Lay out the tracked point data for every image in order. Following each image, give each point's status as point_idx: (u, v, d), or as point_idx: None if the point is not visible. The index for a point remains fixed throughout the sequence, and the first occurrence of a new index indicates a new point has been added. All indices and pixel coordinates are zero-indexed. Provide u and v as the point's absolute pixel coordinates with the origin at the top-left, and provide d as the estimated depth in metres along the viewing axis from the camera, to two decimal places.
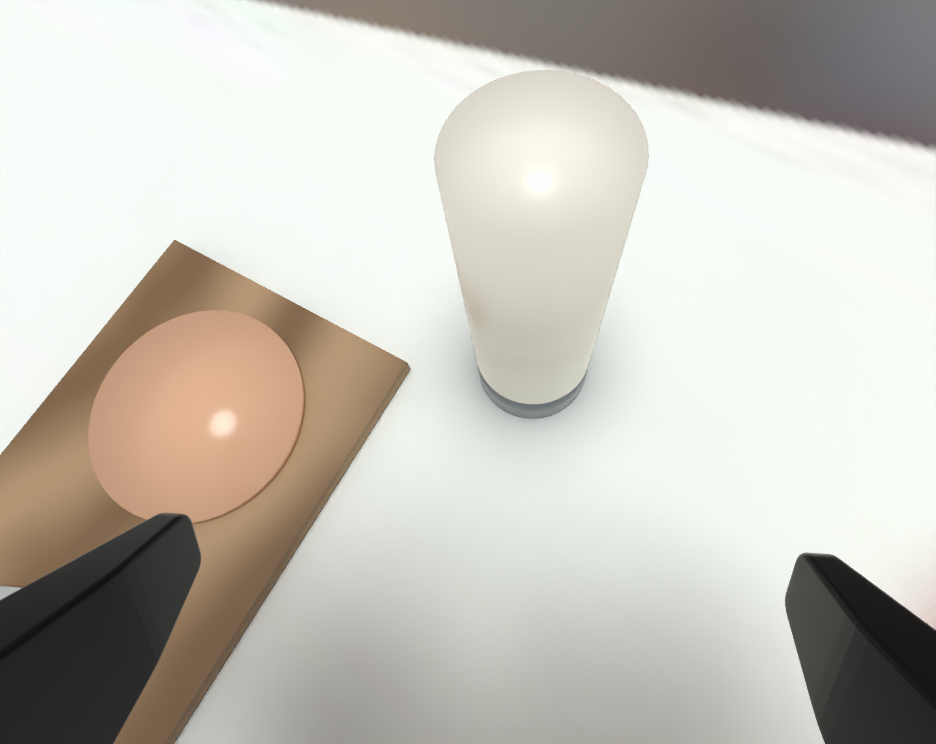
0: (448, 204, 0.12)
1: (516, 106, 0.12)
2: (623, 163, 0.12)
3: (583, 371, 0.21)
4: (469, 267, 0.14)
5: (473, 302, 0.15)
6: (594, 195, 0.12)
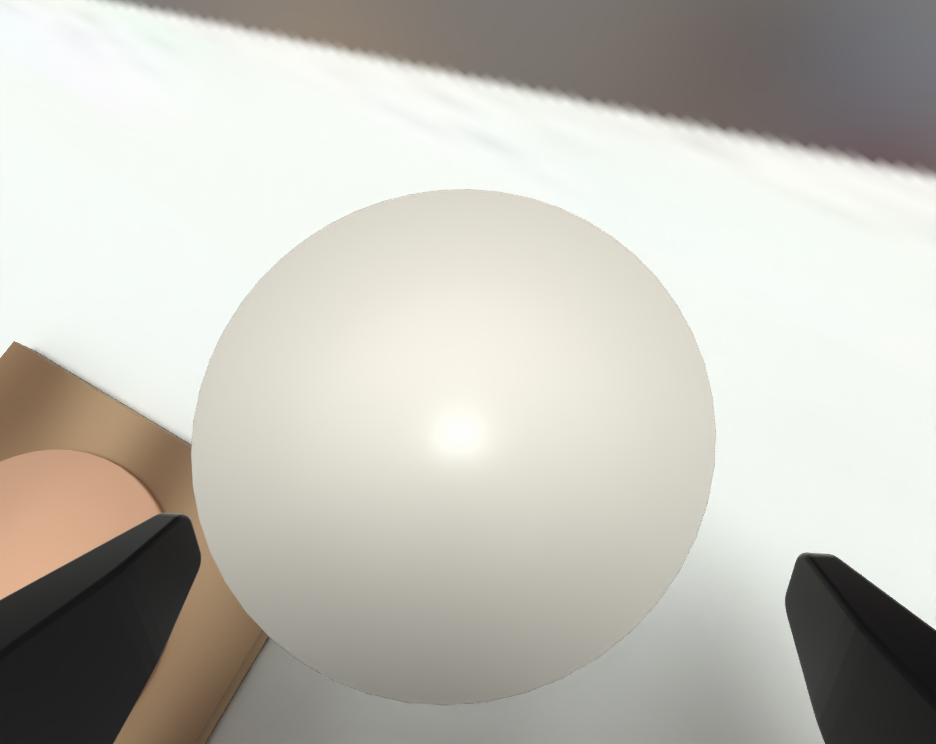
0: (216, 553, 0.05)
1: (395, 281, 0.05)
2: (652, 449, 0.05)
3: None
4: None
5: None
6: (580, 547, 0.04)
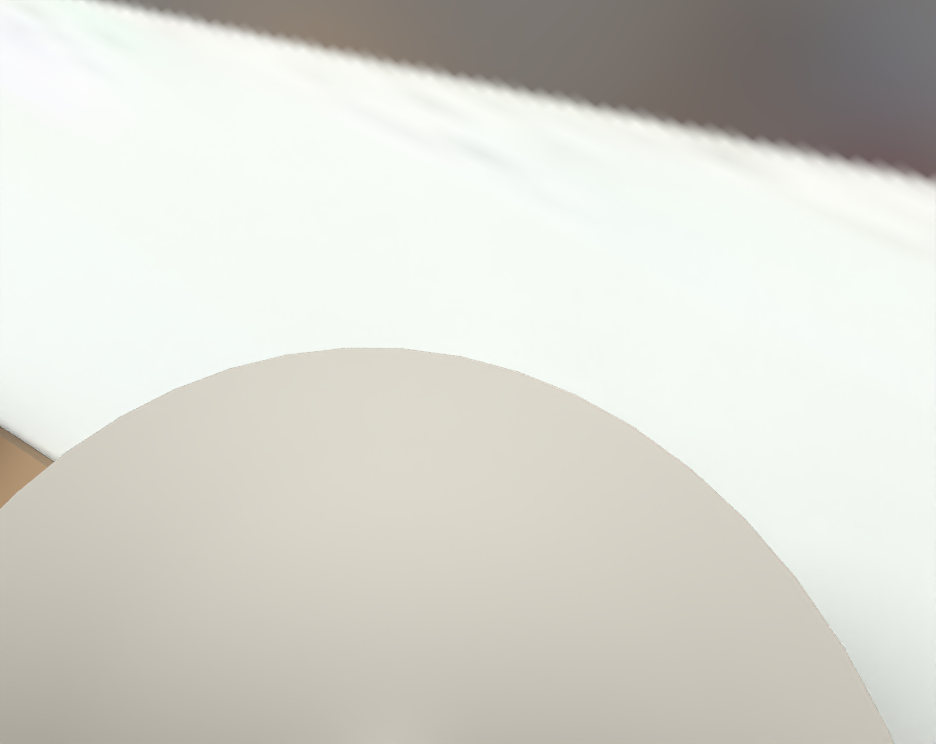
0: None
1: (236, 558, 0.03)
2: None
3: None
4: None
5: None
6: None
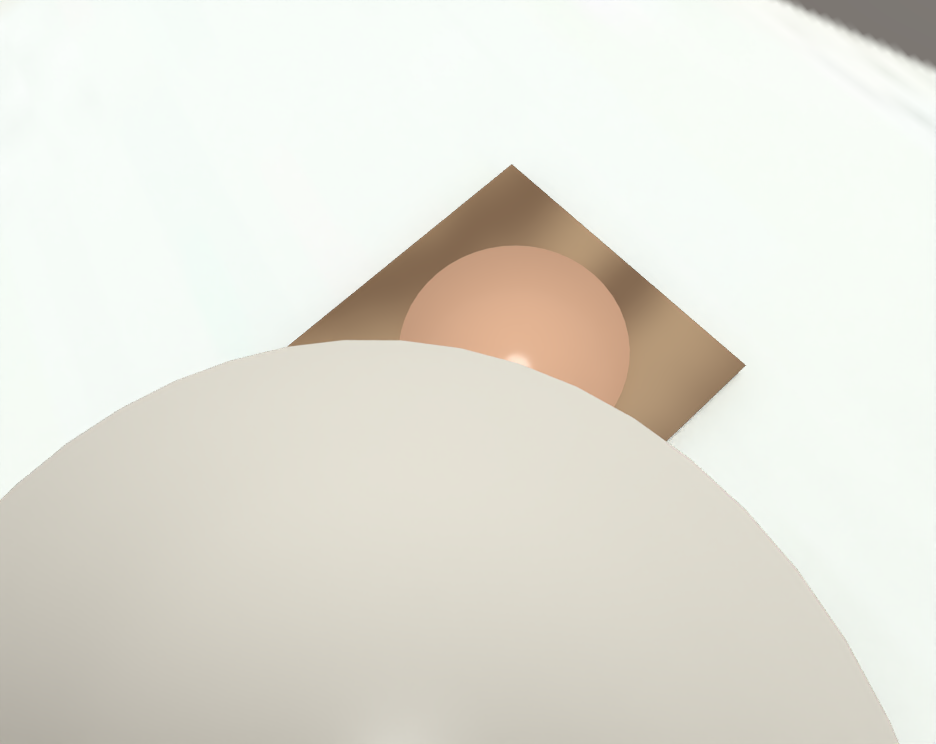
0: None
1: (235, 549, 0.03)
2: None
3: None
4: None
5: None
6: None
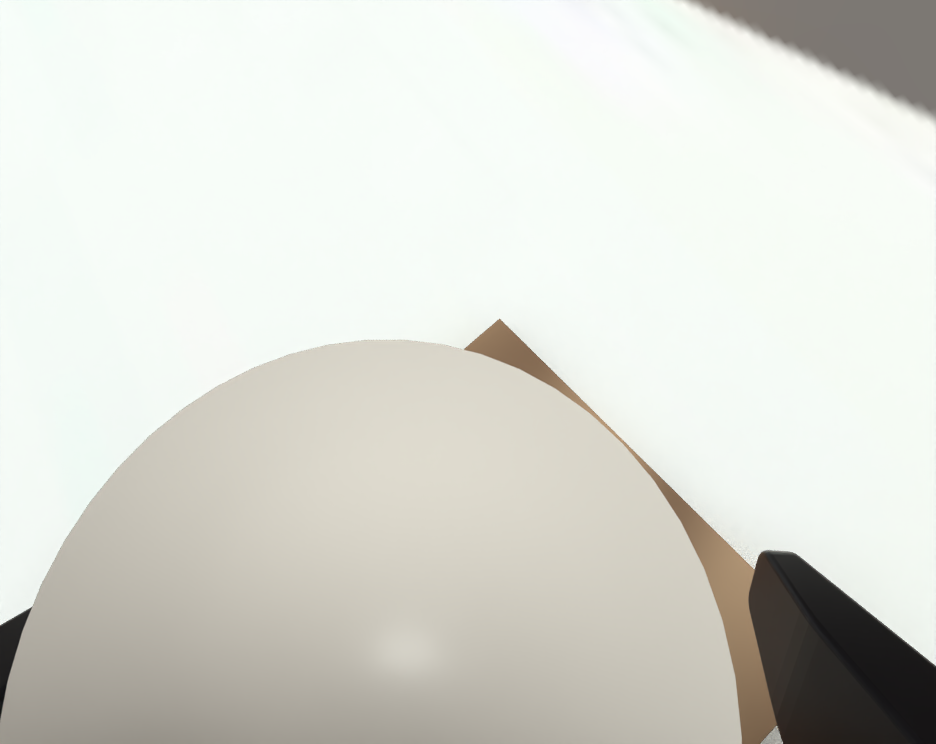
0: None
1: (296, 474, 0.04)
2: None
3: None
4: None
5: None
6: None
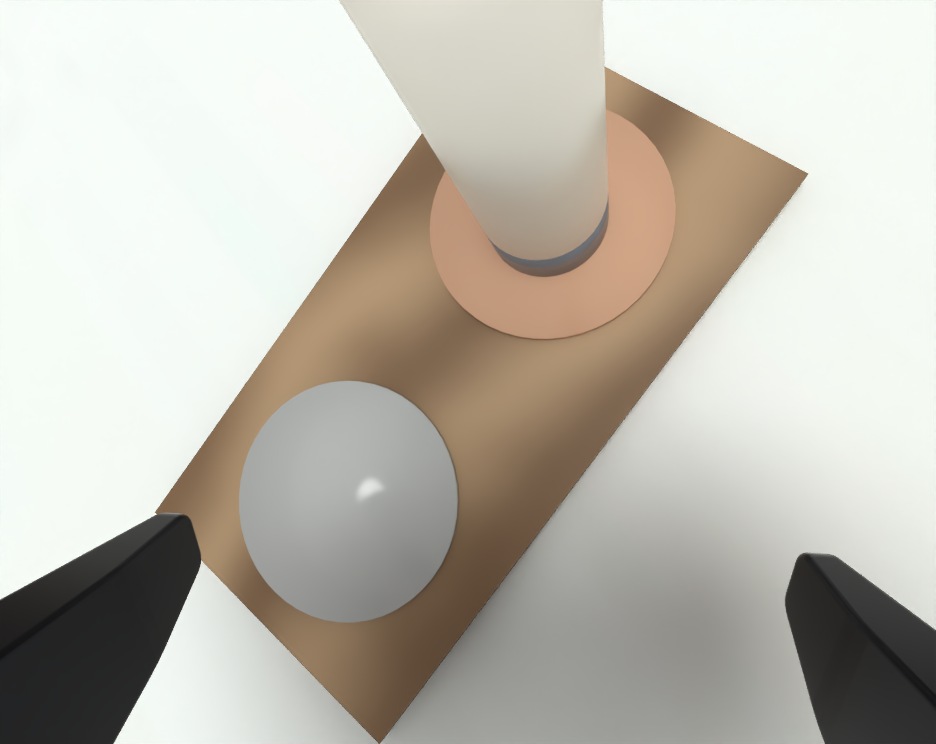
0: (351, 12, 0.09)
1: None
2: None
3: (601, 204, 0.18)
4: (412, 98, 0.11)
5: (439, 148, 0.13)
6: None
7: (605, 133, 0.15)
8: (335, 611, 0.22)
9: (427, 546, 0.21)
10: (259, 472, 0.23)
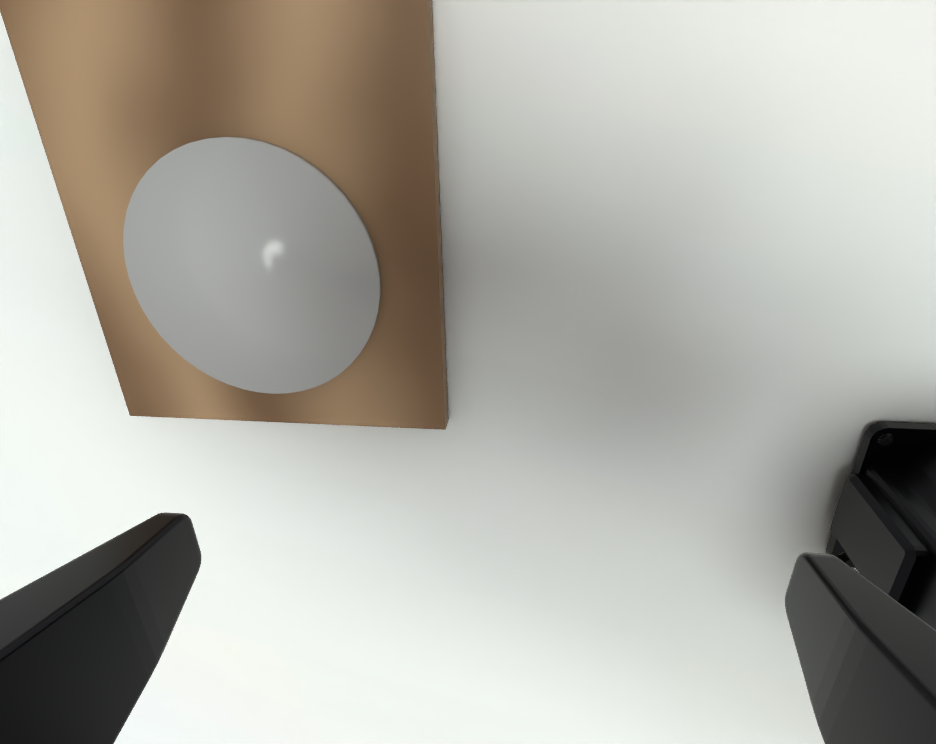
0: None
1: None
2: None
3: None
4: None
5: None
6: None
7: None
8: (329, 368, 0.21)
9: (351, 256, 0.19)
10: (167, 316, 0.21)
